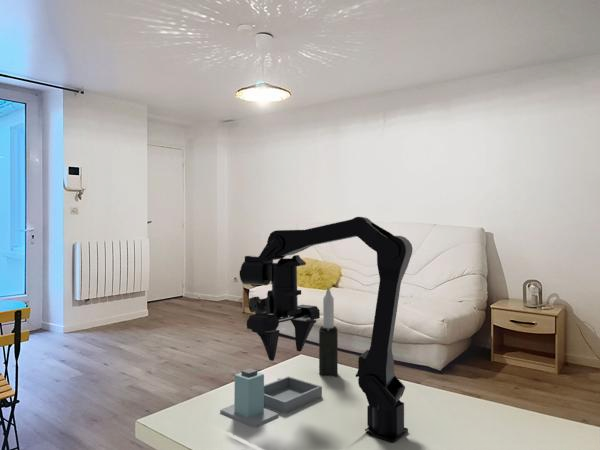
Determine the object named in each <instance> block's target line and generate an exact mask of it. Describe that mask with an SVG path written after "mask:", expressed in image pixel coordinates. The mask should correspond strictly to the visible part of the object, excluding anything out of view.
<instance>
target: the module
mask: <svg viewBox="0 0 600 450" xmlns="http://www.w3.org/2000/svg"><path fill="white" fill-rule="evenodd" d="M264 385H265V374H264V373H261V372H258V370H256V369H253V368H247V369H243V370H241V372H239V373H236V374H234V404H233V405H234V412H236V413H238V414H240V415H243V416H245V417H247V418H249V417H252V416H254V415H256V414H258V413H261V412H263V411H264V408H265V406H264Z"/></svg>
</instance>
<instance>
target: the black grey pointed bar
mask: <svg viewBox="0 0 600 450" xmlns="http://www.w3.org/2000/svg"><path fill="white" fill-rule="evenodd" d="M330 288H331V287H330V286H329V285H327V287H326V291H325V295H324V296H323V298H322V299H323V301H322V305H323V306H322V307H323V310H322V311H323V312H322V313H323V315H322V316H323V319H322V322H323V324H322V325H321V326H320V328H319V330H318V335H319V336H318V338H319V339H318V341H319V342H318V345H319V347H318V349H319V350H318V354H319V355H318V371H319V373H318V375H319V376H321V377H322V376H323V377H325V376H331V377H334V378H338V377H339V376H338V365H339V364H338V362H339V361H338V359H339V356H338V350H339V346H338V337H339V336H338V335H339V334H338V328H337V327H338V326H335V325H334V324H335V323H334V322H335V321H334V319H335V318H334V316H335V313H334V311H335V309H334V306H335V305H334V303H335V302H334V301H335V300H334V297H333V295H332V293H331V289H330Z"/></svg>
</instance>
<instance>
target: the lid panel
mask: <svg viewBox="0 0 600 450" xmlns="http://www.w3.org/2000/svg"><path fill="white" fill-rule="evenodd" d="M219 412H220V413H221V415H222V414H223V415H225V416H226V417H230V418H231V419H234V420H236V421H238V422H240V423H243V424H245V425H246V426H249V427H251V428H253V429H255V428H257V427H259V426H261V425H263V424H266V423H268V422H270V421H272V420H274V419H276V418H278V417H279V412H278V413H277V412H275V411H273V410H270V409H268V408H265V407H264V411H263V412H261V413H258V414H256V415H254V416H252V417H249V418H247V417H245V416H243V415H240V414H238V413H236V412H234V404H231V405H229V406H227V407H224V408H222V409H220V411H219Z"/></svg>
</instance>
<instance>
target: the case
mask: <svg viewBox="0 0 600 450" xmlns="http://www.w3.org/2000/svg"><path fill="white" fill-rule="evenodd" d="M322 391H323V386H321V385H318V384H315V383H311V382H308V381H305V380H302V379H299V378H295V377H293V376H286V377H283V378H282V377H278V378H277V380H274V381H272V382H269V383H267V384H264V407H267V408H269V409H271V410H274V411H277V412H278V413H279V412H280V413H281V414H287V413H290V412H292V411H294V410H297V409H298V408H301V407H302V406H305V405H307V404H309V403H312V402H314V401H315V400H318V399H320V398H322V397H323V392H322Z"/></svg>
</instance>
